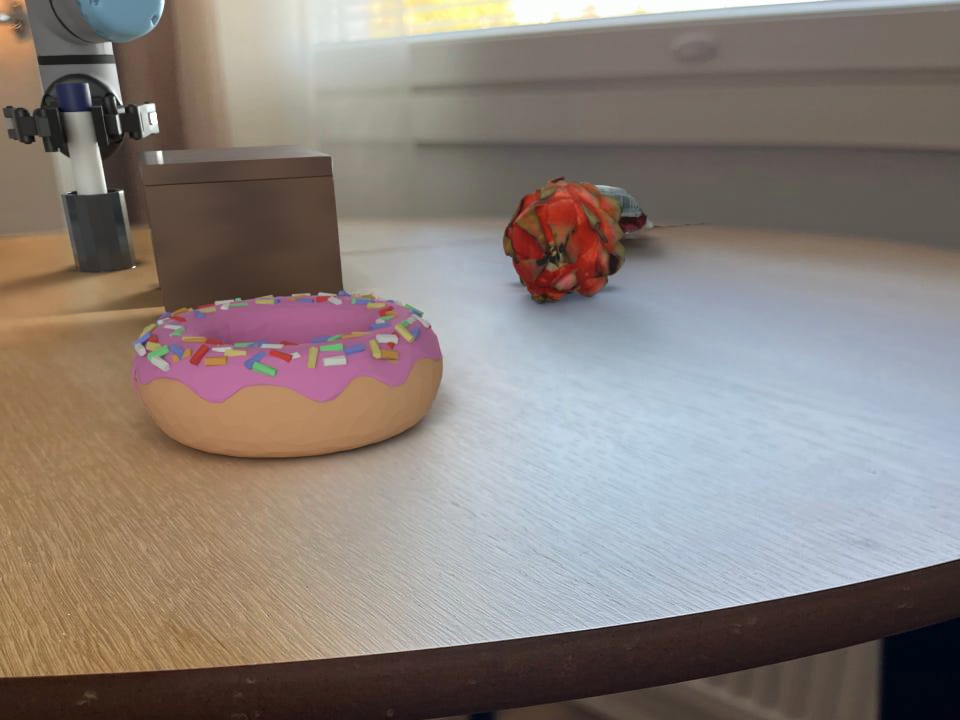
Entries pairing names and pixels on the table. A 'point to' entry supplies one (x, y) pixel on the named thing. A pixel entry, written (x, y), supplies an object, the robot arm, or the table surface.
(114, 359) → the table surface
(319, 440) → the donut
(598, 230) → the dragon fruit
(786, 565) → the table surface
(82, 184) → the marker
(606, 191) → the packaged food
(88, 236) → the pen cup
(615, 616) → the table surface
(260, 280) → the desk cabinet
